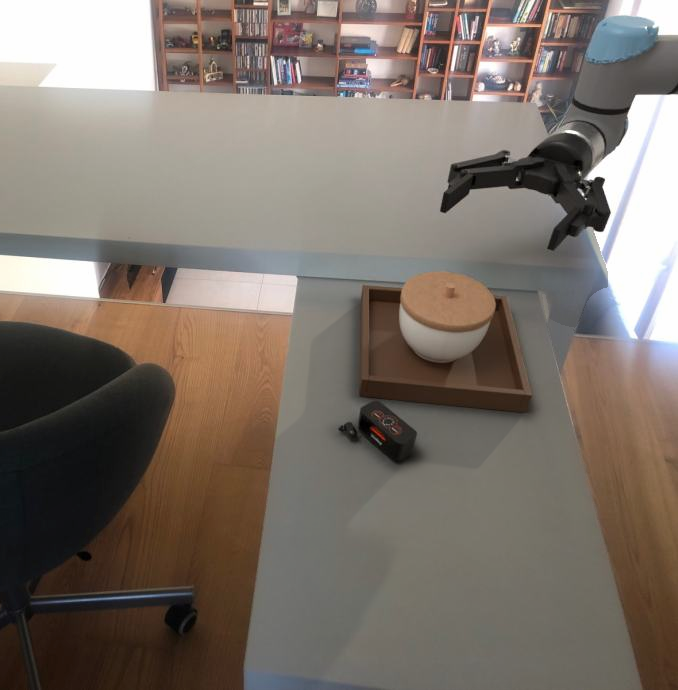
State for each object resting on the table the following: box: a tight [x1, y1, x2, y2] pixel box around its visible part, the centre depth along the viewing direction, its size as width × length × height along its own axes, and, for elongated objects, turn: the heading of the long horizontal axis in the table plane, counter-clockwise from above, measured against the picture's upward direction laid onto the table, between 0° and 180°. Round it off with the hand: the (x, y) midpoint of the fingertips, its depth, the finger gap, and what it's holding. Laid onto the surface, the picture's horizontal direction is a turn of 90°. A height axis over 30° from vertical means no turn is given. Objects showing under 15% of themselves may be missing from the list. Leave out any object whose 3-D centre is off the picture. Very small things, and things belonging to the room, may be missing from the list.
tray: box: [358, 284, 533, 414], centre depth 86 cm, size 19×19×3 cm
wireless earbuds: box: [337, 399, 418, 463], centre depth 74 cm, size 5×7×3 cm, turn 35°
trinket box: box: [399, 270, 496, 363], centre depth 83 cm, size 11×11×9 cm
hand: (496, 220), depth 83 cm, fingers open, 13 cm apart
